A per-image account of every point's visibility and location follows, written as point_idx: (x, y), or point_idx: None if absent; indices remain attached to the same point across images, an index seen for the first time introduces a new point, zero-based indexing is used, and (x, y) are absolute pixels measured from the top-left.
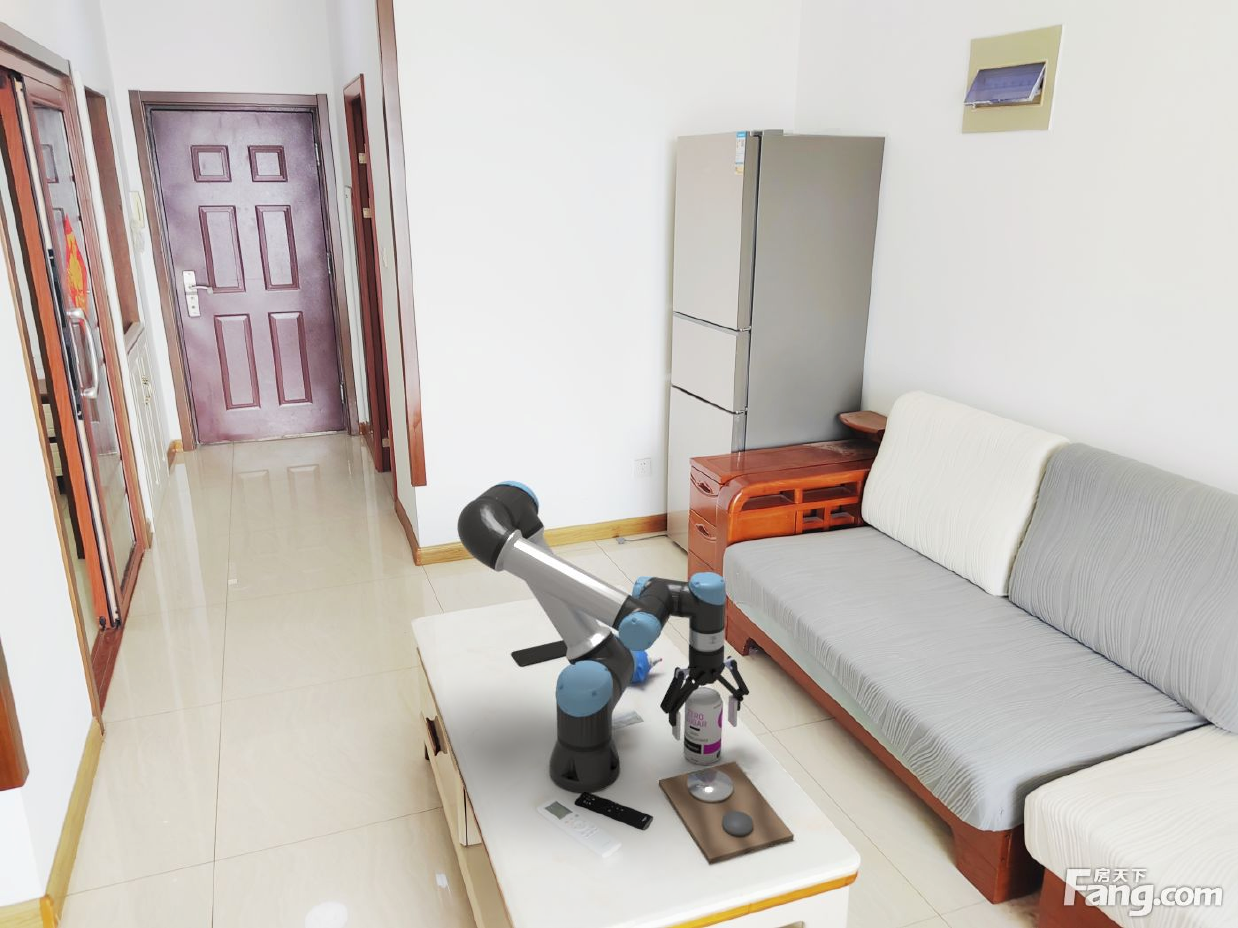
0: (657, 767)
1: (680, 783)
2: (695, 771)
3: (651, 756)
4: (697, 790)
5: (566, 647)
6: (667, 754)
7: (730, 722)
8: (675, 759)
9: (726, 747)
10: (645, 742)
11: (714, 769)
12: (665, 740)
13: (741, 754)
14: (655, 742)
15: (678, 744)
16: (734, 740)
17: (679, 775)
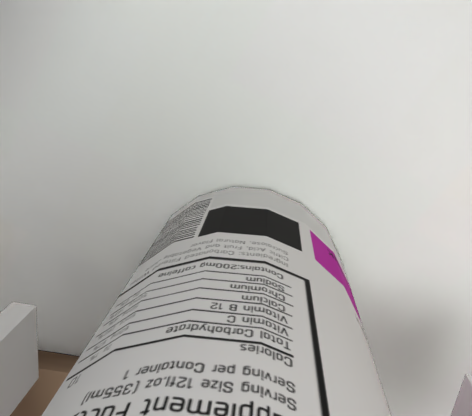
0: (6, 248)
1: (37, 410)
2: None
3: (7, 166)
4: None
5: None
6: (89, 190)
7: (456, 413)
8: (109, 240)
9: (390, 283)
10: (16, 40)
11: None
12: (130, 79)
13: (415, 354)
14: (70, 68)
15: (179, 146)
16: (469, 258)
17: (52, 374)
